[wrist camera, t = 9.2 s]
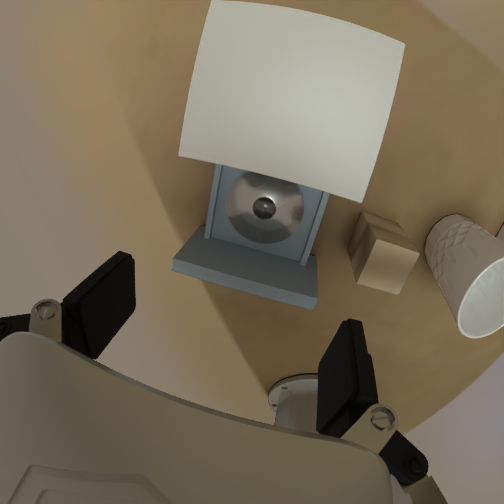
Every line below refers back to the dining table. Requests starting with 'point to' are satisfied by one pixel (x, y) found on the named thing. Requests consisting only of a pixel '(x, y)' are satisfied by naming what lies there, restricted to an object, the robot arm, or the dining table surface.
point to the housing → (291, 96)
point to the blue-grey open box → (254, 250)
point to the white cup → (468, 273)
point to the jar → (501, 234)
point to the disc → (265, 207)
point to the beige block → (381, 253)
